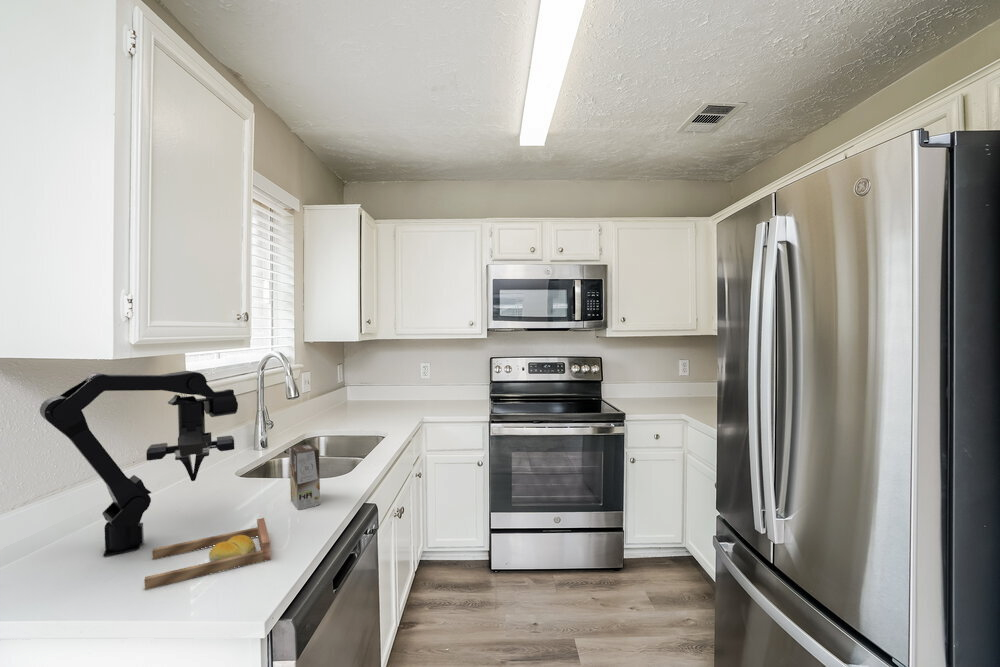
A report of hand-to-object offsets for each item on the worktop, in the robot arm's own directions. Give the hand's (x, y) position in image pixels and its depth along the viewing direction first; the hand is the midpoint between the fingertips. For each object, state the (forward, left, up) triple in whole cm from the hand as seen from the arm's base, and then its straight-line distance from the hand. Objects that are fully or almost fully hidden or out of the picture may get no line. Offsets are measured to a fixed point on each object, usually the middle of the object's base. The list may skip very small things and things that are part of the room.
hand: (193, 480), depth 124 cm
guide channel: (+4, -22, -12) cm, 25 cm away
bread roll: (+8, -23, -12) cm, 27 cm away
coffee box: (+27, +2, -12) cm, 30 cm away
